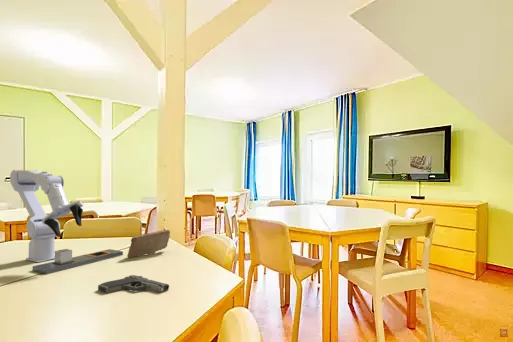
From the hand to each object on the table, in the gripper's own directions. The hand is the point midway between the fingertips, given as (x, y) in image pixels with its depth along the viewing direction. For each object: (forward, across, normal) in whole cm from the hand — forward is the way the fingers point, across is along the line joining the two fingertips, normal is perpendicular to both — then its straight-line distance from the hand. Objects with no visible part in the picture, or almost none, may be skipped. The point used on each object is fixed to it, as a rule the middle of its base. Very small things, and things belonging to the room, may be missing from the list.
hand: (69, 230), depth 110 cm
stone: (+17, +17, +22) cm, 33 cm away
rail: (+9, -4, +12) cm, 15 cm away
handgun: (+37, +17, -16) cm, 44 cm away
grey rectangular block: (+9, -8, +6) cm, 14 cm away
